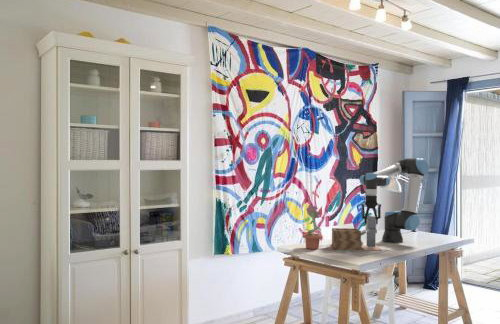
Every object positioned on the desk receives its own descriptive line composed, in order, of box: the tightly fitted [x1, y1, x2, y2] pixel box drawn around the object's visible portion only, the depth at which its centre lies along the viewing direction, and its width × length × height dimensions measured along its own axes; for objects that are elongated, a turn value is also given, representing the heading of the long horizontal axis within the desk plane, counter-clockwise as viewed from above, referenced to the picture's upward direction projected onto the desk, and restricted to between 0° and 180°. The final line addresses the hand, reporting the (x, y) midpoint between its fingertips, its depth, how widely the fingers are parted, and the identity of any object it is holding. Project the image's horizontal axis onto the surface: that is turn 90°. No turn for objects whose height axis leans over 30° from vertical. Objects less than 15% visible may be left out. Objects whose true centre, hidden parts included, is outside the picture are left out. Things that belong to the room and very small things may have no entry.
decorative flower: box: [302, 205, 324, 250], centre depth 301 cm, size 15×14×30 cm
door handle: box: [360, 229, 367, 246], centre depth 321 cm, size 18×8×20 cm
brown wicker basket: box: [330, 227, 363, 251], centre depth 302 cm, size 20×13×13 cm, turn 86°
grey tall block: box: [365, 215, 378, 247], centre depth 301 cm, size 5×13×20 cm, turn 176°
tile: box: [361, 245, 383, 252], centre depth 301 cm, size 12×14×1 cm
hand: (371, 228), depth 301 cm, fingers closed on grey tall block, 5 cm apart
